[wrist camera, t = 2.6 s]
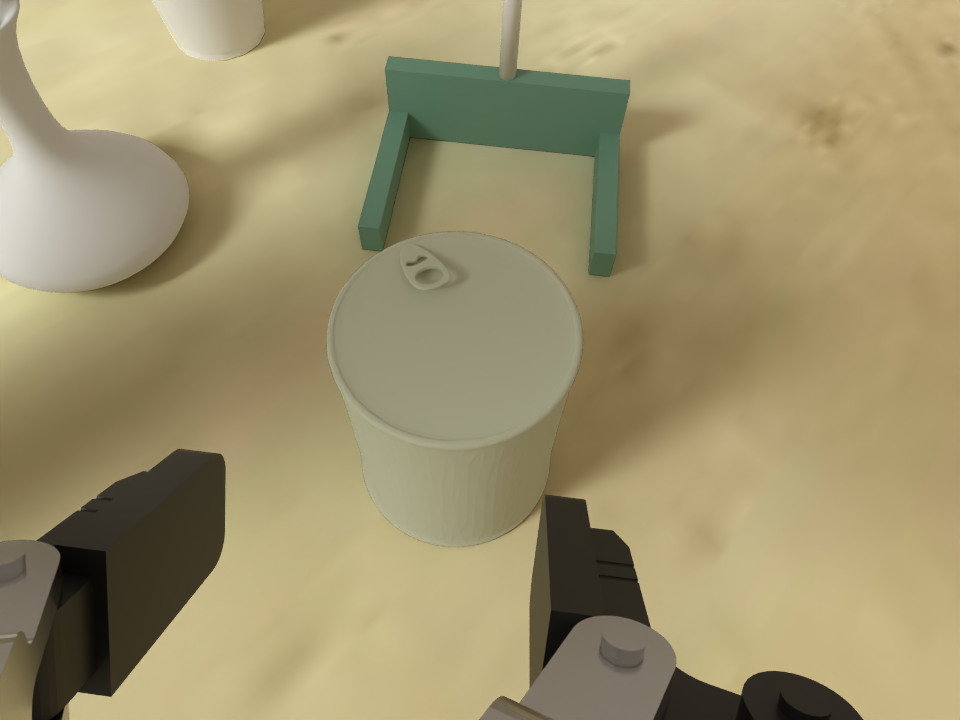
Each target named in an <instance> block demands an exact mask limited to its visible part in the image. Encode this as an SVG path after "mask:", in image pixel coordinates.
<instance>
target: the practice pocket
mask: <svg viewBox="0 0 960 720" xmlns="http://www.w3.org/2000/svg"><path fill="white" fill-rule="evenodd" d="M521 7H522V0H503V13H502V30H501V48H500V66H499V67H490V66H480V65H470V64H460V63H450V62H440V61H431V60H421V59H411V58H401V57H391V56H389V57H388V60H387V64H386V67H385V75H386V85H387V94H388V104H389V113H388V117H387V121H386V124H385V128H384V132H383V135H382V139H381V143H380V147H379V150H378V154H377V158H376V161H375V165H374V169H373V173H372V176H371V180H370V184H369V187H368V191H367V195H366V198H365V202H364V206H363V210H362V213H361V217H360V221H359V224H358V229H359V234H360V240H361V245H362V249H365V250H374V251H383V248H384V243H385V239H386V235H387V231H388V227H389V223H390V219H391V214H392V210H393V206H394V202H395V198H396V194H397V190H398V185H399V181H400V177H401V173H402V169H403V165H404V160H405V156H406V152H407V148H408V144H409V140H410V137H413V138H423V139H432V140H442V141H451V142H461V143H470V144H480V145H490V146H499V147H509V148H518V149H528V150H537V151H547V152H556V153H566V154H576V155H585V156H595V164H594V182H593V201H592V219H591V238H590V257H589V274H590V275H599V276H608V277H609V276H610V273H611V270H612V266H613V263H614V260H615V256H616V238H617V205H618V172H619V138H620V131H621V127H622V123H623V119H624V115H625V111H626V107H627V103H628V99H629V95H630V80H620V79H610V78H600V77H590V76H580V75H570V74H560V73H550V72H540V71H530V70H520V69H517V56H518V44H519V31H520V19H521Z"/></svg>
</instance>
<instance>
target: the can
mask: <svg viewBox="0 0 960 720" xmlns="http://www.w3.org/2000/svg"><path fill="white" fill-rule="evenodd" d="M582 350H583V331H582V324H581V319H580V315H579V312H578V309H577V306H576V304H575V301H574V299H573V297H572V295H571V293H570V292H569V290H568V288H567V287H566V285H565V284H564V282H563V281H562V280H561V279H560V277H559V276H558V275H557V274H556V273H555V272H554V271H553V270H552V269H551V268H550V267H549V266H548V265H547V264H546V263H545V262H543V261H542V260H541V259H539V258H538V257H537V256H535V255H534V254H533V253H531V252H529V251H527V250H526V249H524V248H522V247H520V246H518V245H516V244H514V243H511V242H509V241H507V240H504V239H500V238H497V237H494V236H490V235H485V234H480V233H473V232H459V231H449V232H437V233H430V234H425V235H420V236H416V237H413V238H409V239H406V240H404V241H401V242H398V243H396V244H394V245H392V246H390V247H388V248H386V249H384V250H383V251H381V252H379V253H378V254H376V255H375V256H373V257H372V258H370V259H369V260H368V261H366V262H365V263H364V264H363V265H362V266H361V267H360V268H359V269H357V270H356V271H355V273H354V274H353V275H352V276H351V277H350V278H349V280H348V281H347V282H346V284H345V285H344V286H343V288H342V289H341V291H340V293H339V295H338V297H337V299H336V301H335V303H334V305H333V308H332V311H331V314H330V318H329V322H328V327H327V355H328V360H329V364H330V368H331V371H332V374H333V377H334V379H335V382H336V384H337V386H338V387H339V389H340V391H341V394H342V396H343V399H344V402H345V405H346V409H347V412H348V415H349V418H350V421H351V424H352V427H353V430H354V433H355V436H356V440H357V443H358V446H359V449H360V453H361V456H362V467H363V474H364V479H365V483H366V486H367V489H368V491H369V494H370V496H371V498H372V500H373V501H374V503H375V505H376V506H377V508H378V509H379V510H380V512H381V513H382V514H383V515H384V516H385V518H387V519H388V520H389V521H390V522H391V523H392V524H393V525H394V526H395V527H397V528H398V529H400V530H401V531H403V532H404V533H406V534H407V535H409V536H411V537H413V538H416V539H418V540H420V541H423V542H426V543H429V544H433V545H438V546H446V547H465V546H472V545H478V544H482V543H485V542H488V541H491V540H494V539H496V538H498V537H500V536H502V535H504V534H506V533H507V532H509V531H510V530H512V529H513V528H515V527H516V526H517V525H519V524H520V523H521V522H522V521H523V520H524V519H525V518H526V517H527V516H528V515H529V514H530V512H531V511H532V510H533V509H534V507H535V506H536V504H537V503H538V501H539V499H540V497H541V495H542V493H543V491H544V489H545V486H546V483H547V479H548V476H549V469H550V455H551V451H552V448H553V444H554V440H555V437H556V433H557V430H558V426H559V423H560V419H561V416H562V413H563V410H564V406H565V403H566V400H567V397H568V394H569V390H570V388H571V386H572V384H573V382H574V380H575V378H576V375H577V373H578V370H579V366H580V363H581V358H582Z"/></svg>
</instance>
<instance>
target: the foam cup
mask: <svg viewBox="0 0 960 720" xmlns="http://www.w3.org/2000/svg"><path fill="white" fill-rule="evenodd" d="M152 2H153V4H154V6H155V7H156V9H157V11H158V13H159V15H160V16H161V18H162V20H163V22H164V24H165V25H166V27H167V29H168V31H169V33H170V35H171V36H172V38H173V39H174V40H175V42H176V45H177V46H178V47H179V48H180V49H181V50H182V51H183V52H184V53H185V54H186V55H188V56H191V57H194V58H197V59H200V60H203V61H224V60H228V59H231V58H235V57H238V56H241V55H244V54H246V53H247V52H249V51H250V50H252V49H253V48H254V47H256V46H257V45H259V43H260V41H261V39H262V37H263V35H264V33H265V29H264V16H263V7H262V0H152Z"/></svg>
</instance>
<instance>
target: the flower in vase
mask: <svg viewBox="0 0 960 720" xmlns="http://www.w3.org/2000/svg"><path fill="white" fill-rule="evenodd" d="M19 8H20V4H19V0H0V125H1V126H2V128H3V130H4V131H5V133H6V134H7V136H8V138H9V140H10V142H11V145H12V147H13V155H12V156H11V157H10V158H9V159H8V160H7V161H6V162H5V163H4V164H3V165H2V166H1V167H0V276H2V277H3V278H5V279H6V280H8V281H10V282H12V283H14V284H16V285H19V286H22V287H26V288H29V289H34V290H40V291H47V292H60V293H70V292H82V291H89V290H94V289H98V288H102V287H106V286H109V285H111V284H114V283H117V282H120V281H122V280H124V279H126V278H129V277H131V276H132V275H134V274H136V273H138V272H139V271H141V270H143V269H144V268H145V267H147V266H148V265H150V264H151V263H152V262H154V261H155V260H156V259H157V258H158V257H159V256H161V255H162V254H163V253H164V251H165V250H166V249H167V248H168V247H169V246H170V245H171V243H172V242H173V241H174V239H175V238H176V236H177V234H178V232H179V230H180V229H181V227H182V224H183V222H184V219H185V217H186V214H187V211H188V206H189V188H188V182H187V180H186V177H185V175H184V173H183V171H182V170H181V168H180V167H179V165H178V164H177V163H176V162H175V161H174V160H173V159H172V158H171V157H170V156H168V155H167V154H166V153H165V152H164V151H162V150H161V149H160V148H158V147H157V146H156V145H154V144H152V143H150V142H149V141H146V140H144V139H141V138H139V137H136V136H132V135H128V134H124V133H119V132H114V131H107V130H67V129H65V128H64V127H62V126H61V125H60V124H59V123H58V121H57V120H56V119H55V118H54V117H53V116H52V114H51V113H50V111H49V110H48V108H47V107H46V105H45V104H44V102H43V101H42V99H41V97H40V95H39V93H38V92H37V90H36V88H35V86H34V85H33V82H32V80H31V78H30V76H29V74H28V71H27V69H26V67H25V65H24V62H23V59H22V56H21V53H20V50H19V47H18V41H17V35H16V22H17V18H18V13H19Z"/></svg>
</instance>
